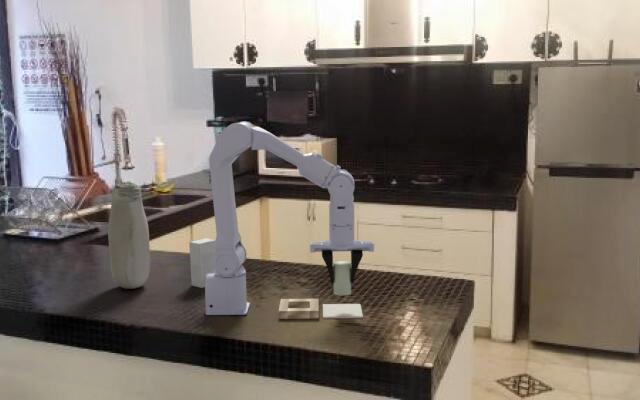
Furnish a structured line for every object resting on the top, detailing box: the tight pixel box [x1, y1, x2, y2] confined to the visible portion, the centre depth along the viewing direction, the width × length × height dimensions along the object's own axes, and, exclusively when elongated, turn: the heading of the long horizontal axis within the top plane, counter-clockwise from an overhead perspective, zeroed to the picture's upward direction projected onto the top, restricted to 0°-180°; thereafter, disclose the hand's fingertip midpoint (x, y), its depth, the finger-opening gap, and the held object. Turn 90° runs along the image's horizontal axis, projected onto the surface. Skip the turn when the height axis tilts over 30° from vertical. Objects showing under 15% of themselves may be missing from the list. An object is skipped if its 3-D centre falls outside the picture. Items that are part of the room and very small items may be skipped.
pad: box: [322, 303, 364, 319], centre depth 155 cm, size 9×9×1 cm
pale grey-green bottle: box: [107, 181, 151, 290], centre depth 174 cm, size 10×10×28 cm
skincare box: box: [189, 237, 216, 289], centre depth 177 cm, size 6×4×12 cm
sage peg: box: [333, 260, 352, 296], centre depth 153 cm, size 4×4×7 cm
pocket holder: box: [278, 298, 320, 320], centre depth 154 cm, size 9×9×2 cm
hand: (342, 282), depth 153 cm, fingers closed on sage peg, 4 cm apart
